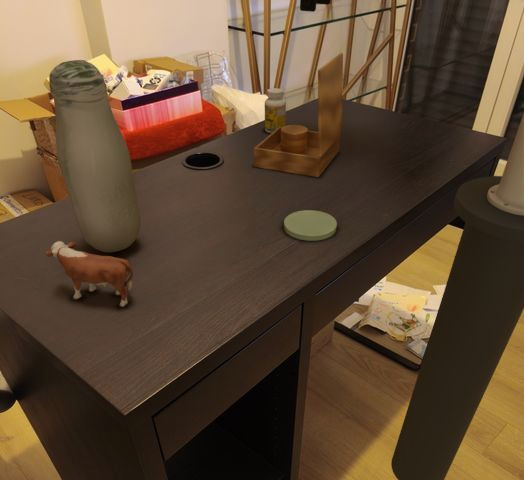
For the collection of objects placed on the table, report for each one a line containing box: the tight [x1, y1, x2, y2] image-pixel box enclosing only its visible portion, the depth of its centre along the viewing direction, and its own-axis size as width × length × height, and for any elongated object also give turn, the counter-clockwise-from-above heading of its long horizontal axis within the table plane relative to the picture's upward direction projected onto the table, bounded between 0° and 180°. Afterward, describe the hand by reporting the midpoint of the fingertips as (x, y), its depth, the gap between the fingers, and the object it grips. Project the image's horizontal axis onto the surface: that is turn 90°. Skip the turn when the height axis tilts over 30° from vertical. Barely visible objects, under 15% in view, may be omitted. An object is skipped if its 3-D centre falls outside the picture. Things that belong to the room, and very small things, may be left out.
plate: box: [283, 209, 338, 242], centre depth 87 cm, size 10×10×1 cm
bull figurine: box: [45, 240, 134, 308], centre depth 70 cm, size 4×13×8 cm, turn 71°
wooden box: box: [253, 127, 341, 178], centre depth 109 cm, size 15×15×4 cm
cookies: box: [280, 124, 309, 155], centre depth 108 cm, size 6×6×6 cm
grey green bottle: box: [48, 59, 142, 253], centre depth 73 cm, size 10×10×28 cm
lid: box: [317, 52, 344, 157], centre depth 100 cm, size 16×15×1 cm
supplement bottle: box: [264, 87, 287, 134], centre depth 121 cm, size 5×5×10 cm
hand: (315, 7), depth 99 cm, fingers open, 9 cm apart
